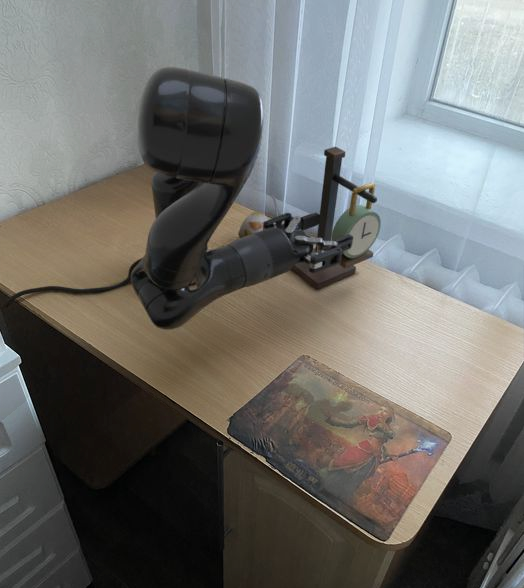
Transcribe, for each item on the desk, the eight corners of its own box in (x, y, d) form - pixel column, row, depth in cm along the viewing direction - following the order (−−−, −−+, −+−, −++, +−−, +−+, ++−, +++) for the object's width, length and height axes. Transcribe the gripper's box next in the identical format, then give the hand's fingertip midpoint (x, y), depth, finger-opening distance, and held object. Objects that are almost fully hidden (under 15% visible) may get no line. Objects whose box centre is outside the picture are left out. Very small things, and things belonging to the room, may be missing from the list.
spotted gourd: (276, 265, 109) (253, 223, 104) (248, 263, 117) (225, 225, 112) (299, 243, 112) (277, 202, 107) (270, 243, 120) (249, 205, 115)
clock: (340, 270, 96) (352, 197, 86) (326, 260, 98) (336, 187, 88) (376, 255, 100) (392, 183, 90) (361, 245, 102) (375, 174, 92)
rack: (376, 288, 104) (402, 167, 88) (338, 306, 100) (358, 182, 83) (323, 250, 114) (337, 134, 97) (285, 265, 109) (294, 146, 92)
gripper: (286, 259, 77) (367, 227, 85) (231, 217, 86) (309, 191, 93) (283, 300, 83) (359, 267, 90) (232, 257, 91) (306, 230, 98)
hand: (334, 228), depth 91 cm, fingers open, 8 cm apart
